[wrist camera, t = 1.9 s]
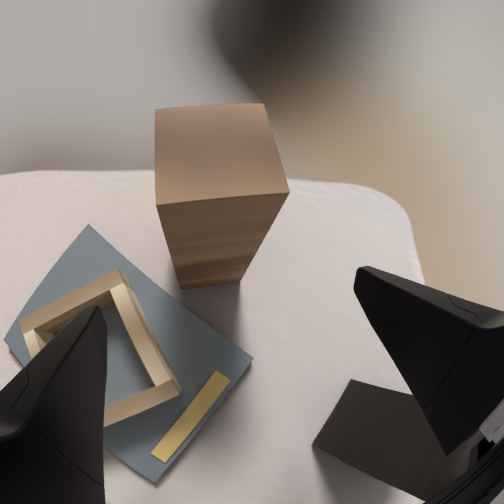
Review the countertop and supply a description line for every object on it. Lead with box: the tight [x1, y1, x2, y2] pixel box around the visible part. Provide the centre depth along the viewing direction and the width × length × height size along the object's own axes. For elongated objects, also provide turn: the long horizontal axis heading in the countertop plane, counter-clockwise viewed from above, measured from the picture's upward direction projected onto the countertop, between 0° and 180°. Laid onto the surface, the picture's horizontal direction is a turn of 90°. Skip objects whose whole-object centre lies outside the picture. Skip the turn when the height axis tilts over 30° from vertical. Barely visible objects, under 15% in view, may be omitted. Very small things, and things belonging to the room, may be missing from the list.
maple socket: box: [19, 268, 183, 427], centre depth 16 cm, size 8×8×3 cm
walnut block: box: [155, 104, 290, 289], centre depth 16 cm, size 4×4×13 cm
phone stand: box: [313, 379, 484, 502], centre depth 14 cm, size 9×6×12 cm, turn 57°
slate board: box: [4, 224, 253, 483], centre depth 18 cm, size 16×12×1 cm
